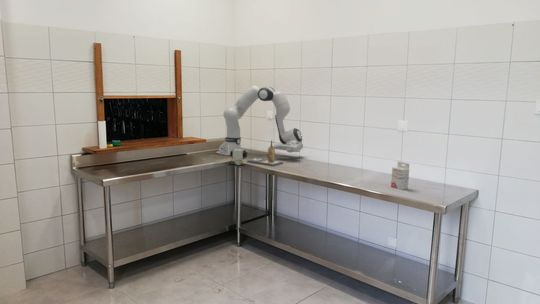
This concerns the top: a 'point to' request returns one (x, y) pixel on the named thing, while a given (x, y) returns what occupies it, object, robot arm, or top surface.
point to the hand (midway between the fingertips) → (280, 148)
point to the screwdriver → (271, 154)
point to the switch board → (264, 162)
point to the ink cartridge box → (400, 176)
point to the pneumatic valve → (238, 155)
